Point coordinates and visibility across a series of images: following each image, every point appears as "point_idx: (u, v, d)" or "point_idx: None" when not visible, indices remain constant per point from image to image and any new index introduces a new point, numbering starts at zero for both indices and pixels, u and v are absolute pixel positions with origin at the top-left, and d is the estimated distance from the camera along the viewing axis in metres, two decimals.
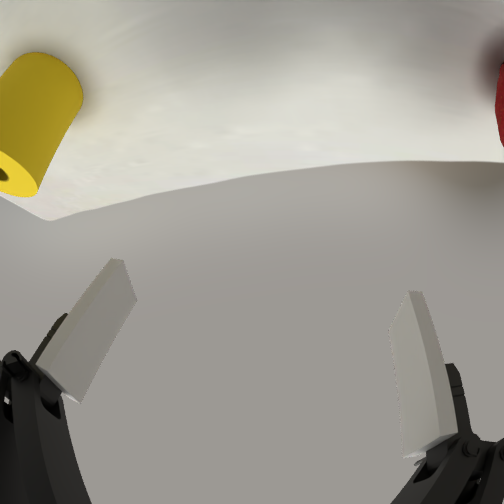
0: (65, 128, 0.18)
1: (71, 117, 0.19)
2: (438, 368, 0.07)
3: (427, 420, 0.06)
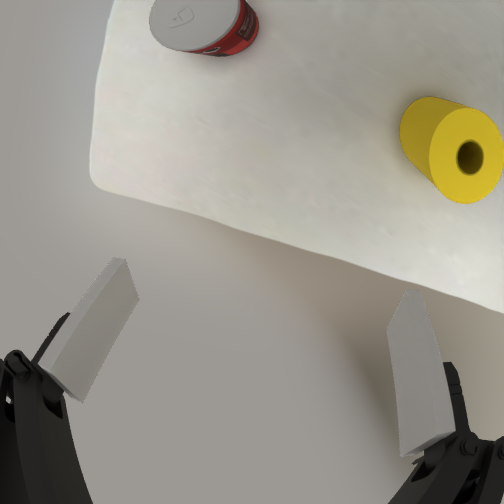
0: None
1: None
2: (435, 366, 0.07)
3: (424, 418, 0.06)
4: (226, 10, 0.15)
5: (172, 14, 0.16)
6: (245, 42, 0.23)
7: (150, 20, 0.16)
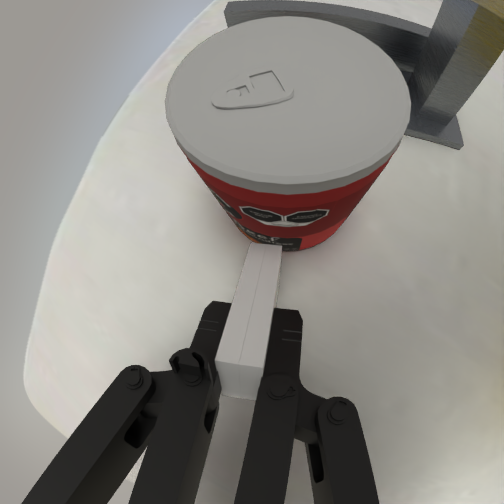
0: None
1: None
2: (263, 306, 0.10)
3: None
4: (382, 98, 0.07)
5: (235, 77, 0.08)
6: (341, 223, 0.14)
7: (172, 80, 0.08)
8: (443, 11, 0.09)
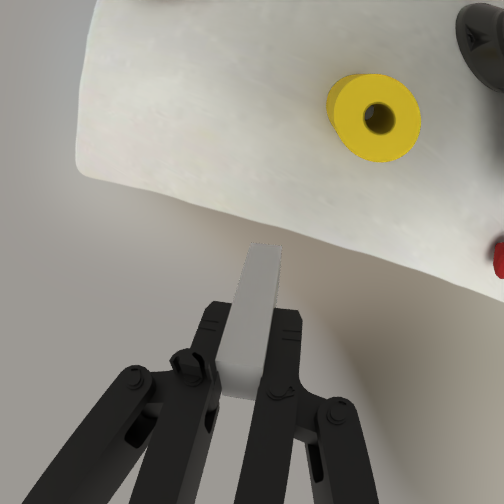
0: None
1: None
2: (263, 306, 0.10)
3: None
4: None
5: None
6: None
7: None
8: None
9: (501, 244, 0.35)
